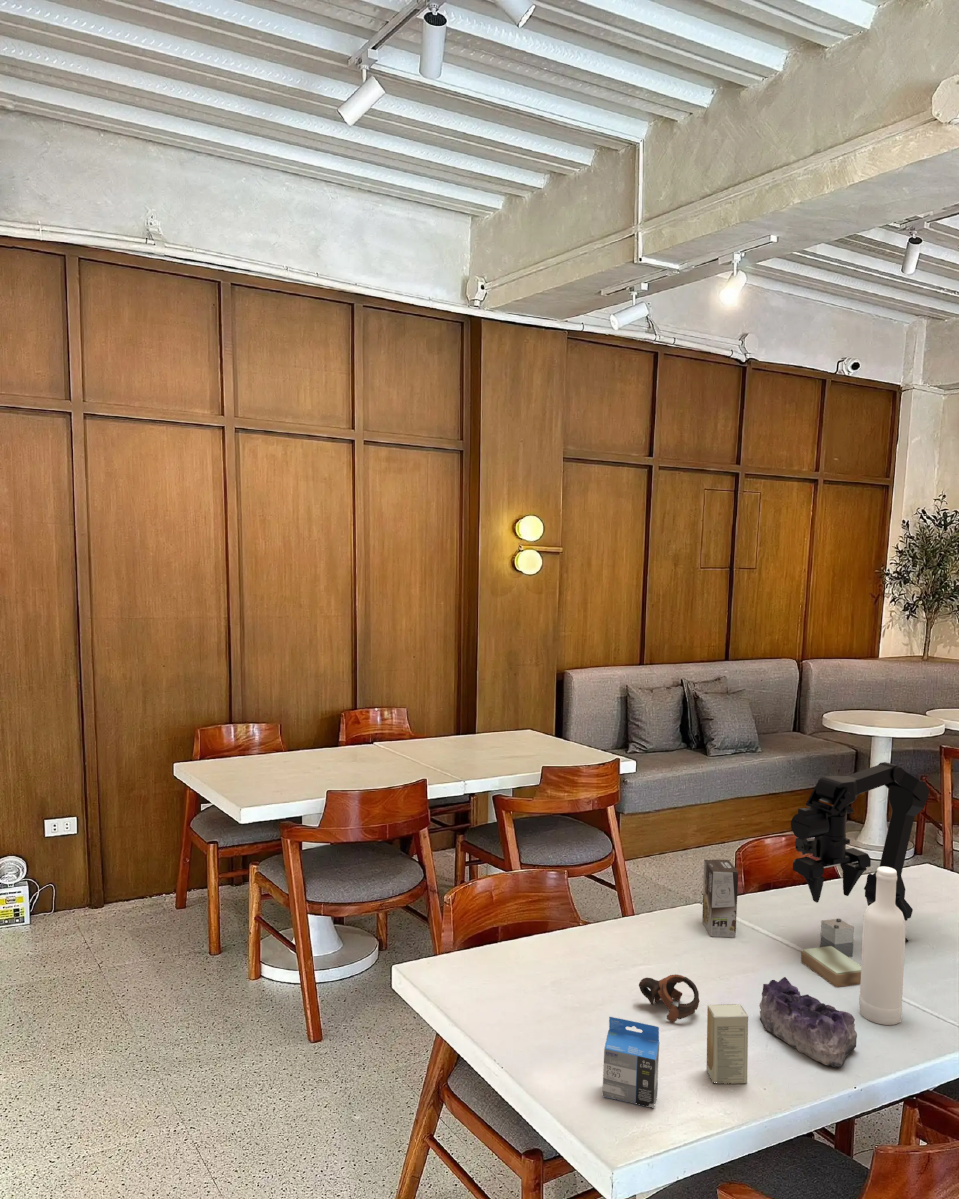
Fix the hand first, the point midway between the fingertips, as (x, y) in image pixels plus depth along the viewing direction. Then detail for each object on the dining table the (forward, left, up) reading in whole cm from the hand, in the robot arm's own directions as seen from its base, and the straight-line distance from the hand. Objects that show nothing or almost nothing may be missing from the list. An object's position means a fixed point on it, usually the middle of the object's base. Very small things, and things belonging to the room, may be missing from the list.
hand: (831, 898), depth 205 cm
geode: (+30, +31, -13) cm, 45 cm away
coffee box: (+19, -17, -13) cm, 28 cm away
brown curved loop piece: (+49, +15, -13) cm, 53 cm away
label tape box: (+70, +39, -13) cm, 81 cm away
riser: (+6, +9, -13) cm, 16 cm away
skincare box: (+51, +38, -13) cm, 64 cm away
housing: (-1, +1, -13) cm, 13 cm away
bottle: (+9, +27, -13) cm, 31 cm away
